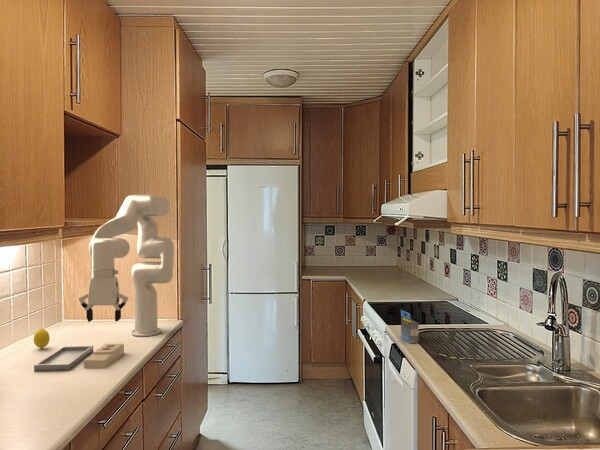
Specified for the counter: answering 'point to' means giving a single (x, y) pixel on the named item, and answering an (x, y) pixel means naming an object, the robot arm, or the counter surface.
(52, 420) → the counter surface
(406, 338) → the label tape cartridge
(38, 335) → the lemon
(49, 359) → the grey rectangular tray
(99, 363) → the electrical outlet
